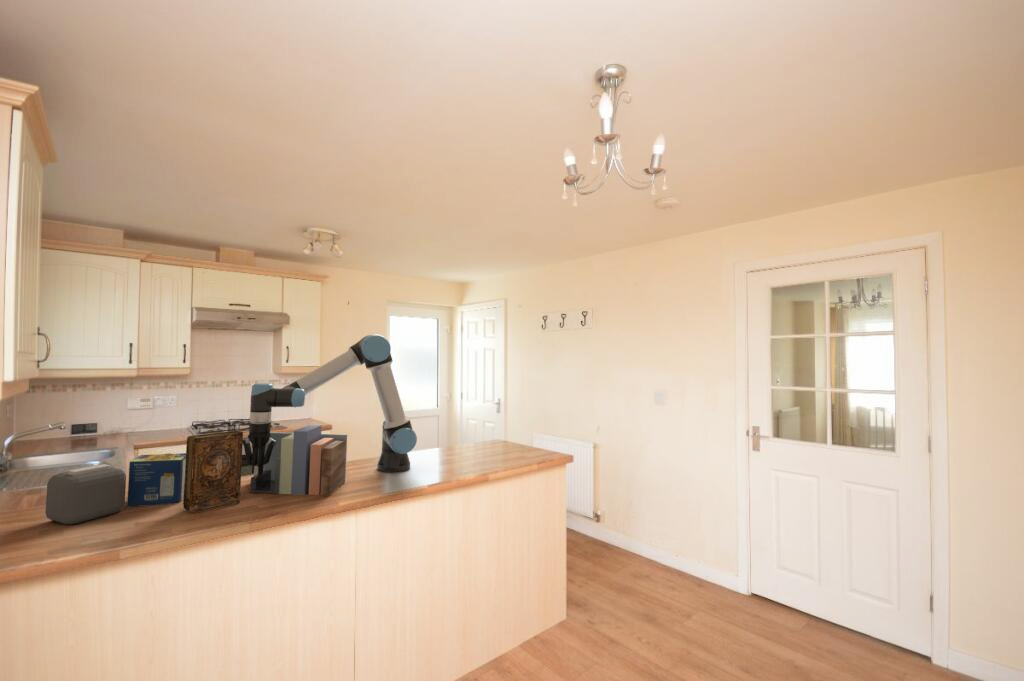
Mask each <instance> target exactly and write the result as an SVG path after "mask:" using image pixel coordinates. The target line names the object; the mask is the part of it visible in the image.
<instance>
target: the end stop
mask: <svg viewBox="0 0 1024 681" xmlns="http://www.w3.org/2000/svg"><path fill="white" fill-rule="evenodd" d="M345 450H346V440H336V441H334V442H333V443H331V444H329V445H327V446H326V447H324V448H322V469H321V493H320V494H319V495H320V497H321V496H322V497H330V496H332V495H333V494H334V493H335V492H336V491H337V490H338V489H339V488H341V487H342V486H343V485H344V484H345V483H344V474H345Z"/></svg>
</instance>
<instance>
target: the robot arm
mask: <svg viewBox="0 0 1024 681" xmlns="http://www.w3.org/2000/svg"><path fill="white" fill-rule="evenodd" d="M391 348H392V347H391V344H390V342H389V340H388V339H387V337H385V336H383V335H381V334H377V333H376V334H374V333H373V334H369V335H366V336H363V337H362V338H360V340H358V341H357V342H356V343H354V344H353V345H351V346H349V347H348V349H347V351H345V352H343V353H342V354H340V355H339V356H336V357H334V358H333V359H331V360H329V361H328V362H327V363H325V364H322V365H320V366H319V367H318V368H316V369H314V370H312V371H310V372H309V373H307V374H305V375H303V376H302V377H299V378H298V379H296V380H295V381H293V382H291V383H289V384H287V385H285V386H283V387H282V388H276V387H275V388H274V385H273V383H270V382H257V383H253V384H252V385H251V394H250V407H249V408H250V410H249V422H250V423H249V427H248V432H249V434H247V435H248V436H247V437H245V438H243V444H242V446H243V447H244V455H245V458H246V463H247V464H248V465H251V474H253V476H255V475H257V474H261V473H263V465H265V464H267V463H268V462H269V459H270V456H271V453H272V450H273V447H274V445H275V443H276V442H277V440H273V439H272V438H271V435H270V432H271V427H272V426H271V425H272V423H271V421H272V410H273V408H298V407H299V408H302V407H304V406H305V402H306V401H305V399H306V396H307V395H309V394H310V393H311V392H314V391H315V390H316V389H318V388H321V387H322V386H324V385H325V384H328V383H329V382H331V381H332V380H334V379H335V378H337V377H338V376H340V375H343V374H344V373H345V372H347V371H349V370H351V369H352V368H354V367H356V366H362V365H363V364H364V365H365V368H366V370H369V371H370V373H371V376H372V379H373V383H374V386H375V389H376V392H377V397H378V400H379V403H380V406H381V409H382V413H383V416H384V421H383V422H382V425H381V426H382V427H381V428H382V433H381V434H382V438H381V439H382V440H381V453H380V456H379V458H378V461H377V466H376V469H377V471H380V472H384V473H398V472H399V473H400V472H406V471H408V470H410V469H411V461H410V458H409V454H408V453H410V452H411V451H412V450H413V449H415V446H416V445H417V443H418V442H417V441H418V437H417V433H416V432H415V431H414V430H413V426H412V423H411V419H410V418H409V417H407V416H406V413H405V412H404V407H403V404H402V400H401V398H400V394H399V390H398V386H397V384H396V383H397V382H396V380H395V376H394V374H393V369H392V367H391V365H392V363H393V357H392V354H391V351H392V350H391ZM268 441H269V445H268V448H267V451H266V454H265V447H266V443H267V442H268ZM258 451H259V456H258ZM257 464H258V465H257Z"/></svg>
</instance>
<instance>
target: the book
mask: <svg viewBox="0 0 1024 681" xmlns="http://www.w3.org/2000/svg"><path fill="white" fill-rule="evenodd" d="M243 437H244V432H243V431H241V430H230V431H223V432H222V431H221V432H213V433H206V434H205V433H204V434H195V435H188V436H187V437H186V438H187V439H186V447H185V448H186V449H185V453H186V464H185V482H184V499H183V500H182V501H183V503H182V505H183V507H182V508H183V510H188V512H189V513H190V514H196V513H200V512H206V511H211V510H214V509H219V508H223V507H228V506H232V505H236V504H237V505H238V504H240V503H241V484H242V483H241V482H242V464H243V462H242V461H243V460H242V459H243V440H244V438H243Z"/></svg>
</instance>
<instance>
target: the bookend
mask: <svg viewBox="0 0 1024 681" xmlns="http://www.w3.org/2000/svg"><path fill="white" fill-rule="evenodd" d="M280 461H281V457H280V458H278V459H276V469H275V480H271V470H265V471H263V473H261V474H257V475H255V476H254V475H253V476H252V477H250V488H249V490H248V493H254V494H255V493H256V494H257V493H258V494H259V493H261V494H265V493H267V494H274V495H280V494H279V483H280Z"/></svg>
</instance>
